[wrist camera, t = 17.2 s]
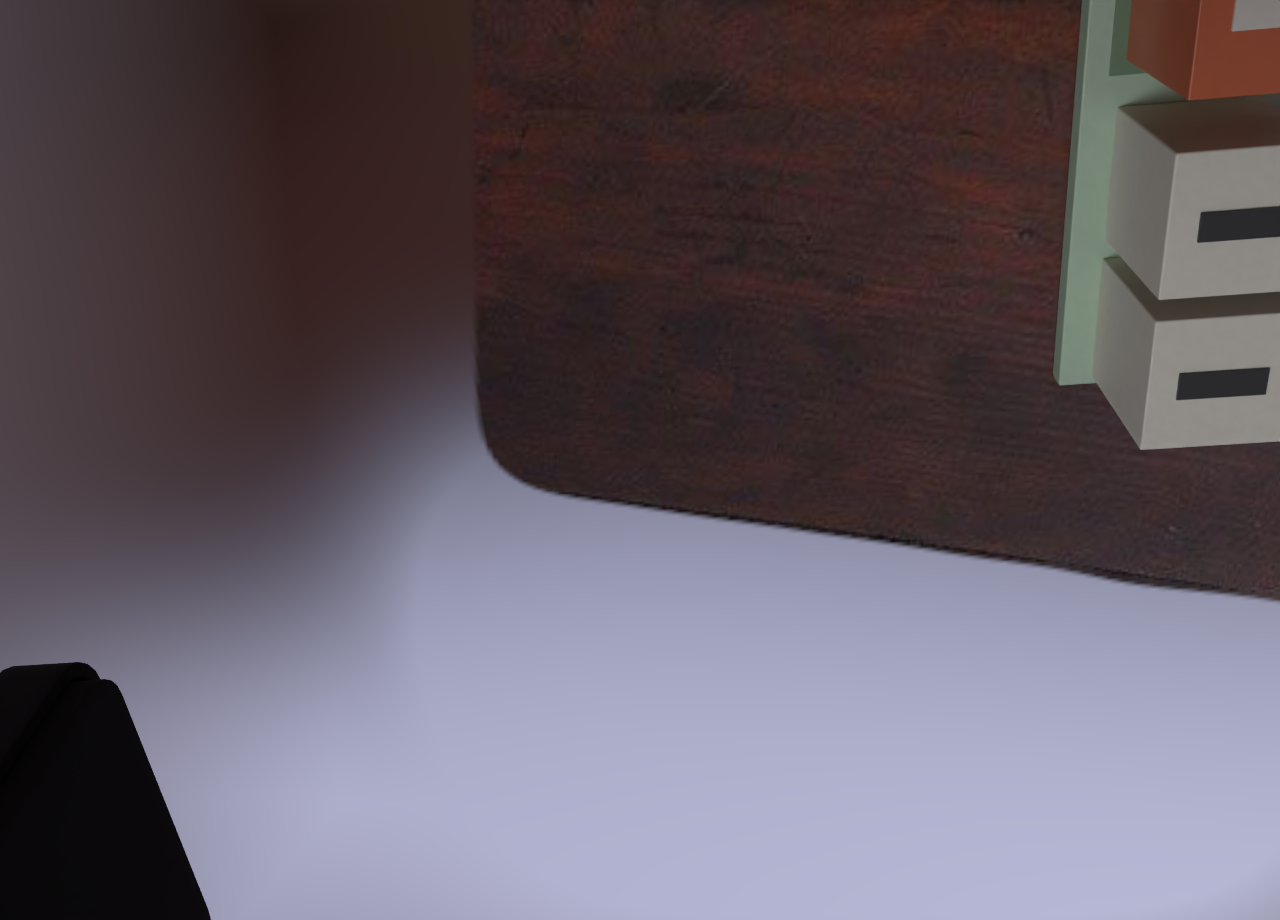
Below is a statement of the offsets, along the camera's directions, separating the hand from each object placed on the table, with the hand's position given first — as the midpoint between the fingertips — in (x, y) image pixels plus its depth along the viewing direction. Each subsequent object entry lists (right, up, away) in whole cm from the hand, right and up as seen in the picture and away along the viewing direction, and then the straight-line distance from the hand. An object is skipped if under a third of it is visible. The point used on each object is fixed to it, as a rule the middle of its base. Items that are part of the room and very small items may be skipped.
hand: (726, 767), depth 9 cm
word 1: (+15, +12, +27) cm, 33 cm away
